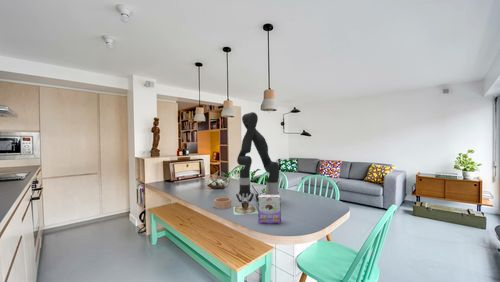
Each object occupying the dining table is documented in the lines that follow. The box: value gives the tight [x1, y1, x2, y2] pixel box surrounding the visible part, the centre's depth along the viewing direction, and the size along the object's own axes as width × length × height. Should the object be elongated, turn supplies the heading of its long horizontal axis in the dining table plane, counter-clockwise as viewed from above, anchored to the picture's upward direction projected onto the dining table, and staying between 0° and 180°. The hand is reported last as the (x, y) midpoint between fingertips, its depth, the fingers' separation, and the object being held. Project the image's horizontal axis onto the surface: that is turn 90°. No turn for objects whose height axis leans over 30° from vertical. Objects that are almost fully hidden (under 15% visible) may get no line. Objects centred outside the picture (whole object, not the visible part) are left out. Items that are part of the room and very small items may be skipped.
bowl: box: [213, 196, 232, 210], centre depth 163 cm, size 13×13×6 cm
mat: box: [232, 205, 258, 216], centre depth 154 cm, size 17×17×1 cm
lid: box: [235, 200, 257, 215], centre depth 154 cm, size 15×15×6 cm
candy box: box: [257, 194, 282, 225], centre depth 133 cm, size 14×6×16 cm, turn 84°
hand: (245, 207), depth 154 cm, fingers closed on lid, 2 cm apart
